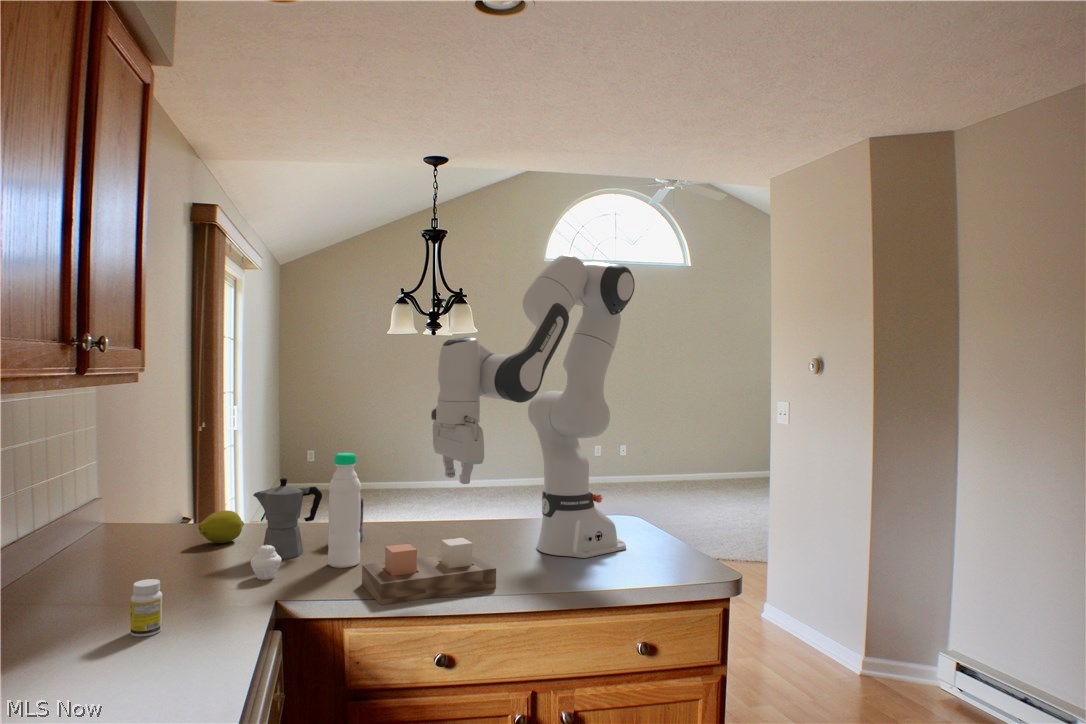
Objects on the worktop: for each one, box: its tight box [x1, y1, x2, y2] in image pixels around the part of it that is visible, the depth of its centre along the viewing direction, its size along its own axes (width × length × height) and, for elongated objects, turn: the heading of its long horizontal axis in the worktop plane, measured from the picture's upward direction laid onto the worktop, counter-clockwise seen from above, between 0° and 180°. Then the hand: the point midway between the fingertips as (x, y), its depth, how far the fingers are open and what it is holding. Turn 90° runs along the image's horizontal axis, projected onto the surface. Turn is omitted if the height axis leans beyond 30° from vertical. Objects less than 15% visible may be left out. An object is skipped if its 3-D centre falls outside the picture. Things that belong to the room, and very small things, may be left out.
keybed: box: [361, 552, 497, 606], centre depth 149 cm, size 24×14×4 cm, turn 118°
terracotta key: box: [384, 543, 418, 576], centre depth 147 cm, size 5×5×5 cm
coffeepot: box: [252, 477, 323, 560], centre depth 171 cm, size 15×9×18 cm, turn 113°
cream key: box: [440, 537, 473, 569], centre depth 152 cm, size 5×5×5 cm
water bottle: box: [327, 452, 362, 569], centre depth 164 cm, size 7×7×25 cm
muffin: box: [250, 545, 283, 581], centre depth 153 cm, size 6×6×7 cm
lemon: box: [198, 510, 245, 544], centre depth 180 cm, size 11×8×8 cm
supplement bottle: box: [130, 578, 163, 638], centre depth 123 cm, size 5×5×8 cm
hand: (457, 480), depth 152 cm, fingers open, 7 cm apart
